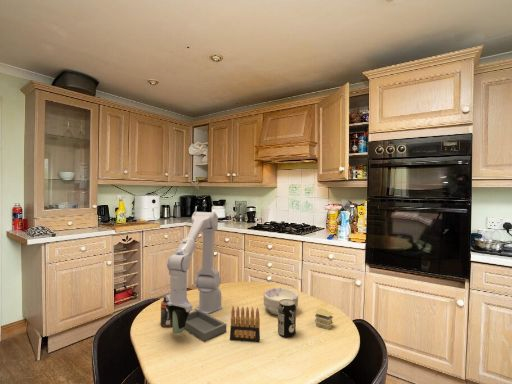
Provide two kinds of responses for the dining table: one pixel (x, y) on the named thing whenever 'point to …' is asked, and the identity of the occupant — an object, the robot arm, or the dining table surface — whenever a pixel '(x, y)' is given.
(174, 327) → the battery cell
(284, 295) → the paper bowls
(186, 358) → the dining table surface
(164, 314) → the supplement bottle
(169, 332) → the dining table surface
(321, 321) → the layered tan block
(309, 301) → the dining table surface
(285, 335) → the beverage can
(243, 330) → the ammunition clip
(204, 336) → the trough
